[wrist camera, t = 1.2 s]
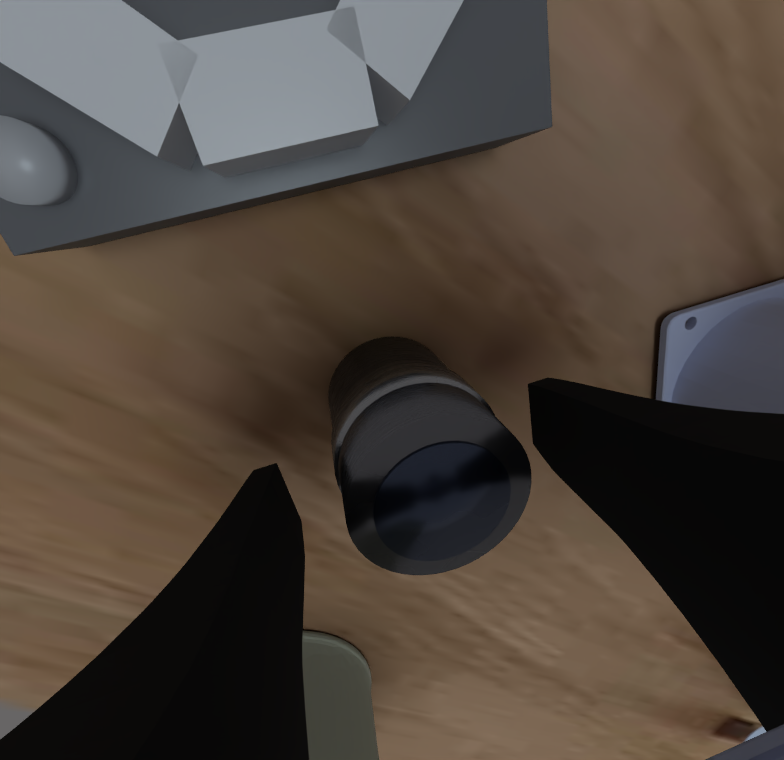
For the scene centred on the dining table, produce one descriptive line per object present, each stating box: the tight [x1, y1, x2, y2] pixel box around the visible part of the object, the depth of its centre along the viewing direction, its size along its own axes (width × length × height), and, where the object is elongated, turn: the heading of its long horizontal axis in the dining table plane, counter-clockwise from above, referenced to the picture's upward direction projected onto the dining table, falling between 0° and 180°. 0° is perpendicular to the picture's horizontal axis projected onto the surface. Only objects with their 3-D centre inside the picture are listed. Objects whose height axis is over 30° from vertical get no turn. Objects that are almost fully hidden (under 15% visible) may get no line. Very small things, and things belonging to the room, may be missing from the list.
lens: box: [328, 336, 531, 575], centre depth 12 cm, size 5×5×6 cm
